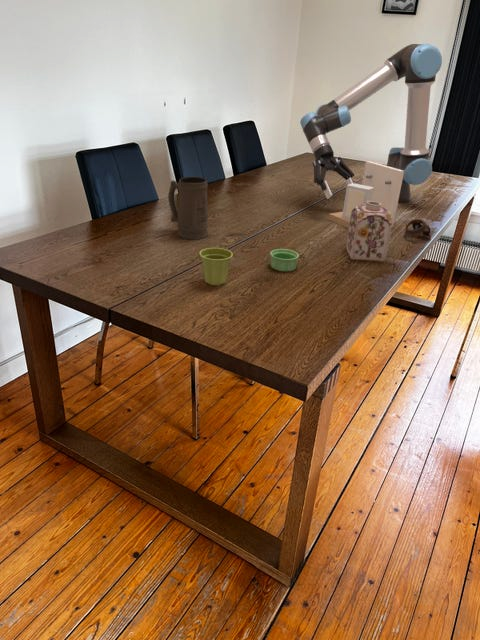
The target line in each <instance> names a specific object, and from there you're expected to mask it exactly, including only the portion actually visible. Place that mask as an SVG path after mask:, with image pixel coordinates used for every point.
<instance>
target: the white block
mask: <svg viewBox="0 0 480 640" xmlns="http://www.w3.org/2000/svg"><path fill="white" fill-rule="evenodd" d="M373 192H374V187H370V186H365V185H362V184H360V183H351V184H349V185H347V184H346V190H345V196H344V202H343V209H342V212H343V214H342V218H343V219H347V220H350V217H351V212H352V210H353V209H354V208H355V207H356V206H358V205H366V203H367V202H368V201H372V197H373Z"/></svg>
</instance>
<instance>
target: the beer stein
mask: <svg viewBox="0 0 480 640" xmlns="http://www.w3.org/2000/svg"><path fill="white" fill-rule="evenodd" d="M208 186H209V184H208V181H207V179H206V178H205V177H198V176H185V177H181V178H180V179H179V180H178V182H177V181H176V180H170V187H169V191H168V194H167V195H168V196H167V197H168V205H169V207H170V210H171V213H172V214H171V215H172V216H171V219H170V220H171V222H172V223H174V222H176V223H177V227H178V230H177V235H178V237H180V238H181V239H185V240H202V239H205V238H206V237H207V236H208V233H209V232H208V222H209V221H208V217H209V215H208ZM176 190H178V196H177V206H176V201H175V191H176Z"/></svg>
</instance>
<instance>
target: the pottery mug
mask: <svg viewBox="0 0 480 640" xmlns="http://www.w3.org/2000/svg"><path fill="white" fill-rule="evenodd" d="M409 226H411V227H412V229H410V228H408V227H409ZM403 235H404V238H407V237H413V238H414V237H417V236H421V237H423V236H424V237H428V239H429V241H431V239H432V233H431V227H430V225H429V224H428V223H427V222H426V221H425V219H422V218H414V219H411V220H409V221H407V223H406V224H405V228H404V232H403Z"/></svg>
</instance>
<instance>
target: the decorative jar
mask: <svg viewBox="0 0 480 640" xmlns="http://www.w3.org/2000/svg"><path fill="white" fill-rule="evenodd" d="M392 228H393V227H392V218H391V212H390V211H389V209H387V208H384V207H382V206H381V203H379V202H375V201H368V202H367V203H366V205H358V206H356V207H355V208H354V209H353V210H352V212H351V217H350V223H349V228H347V229H348V230H347V237H346V244H345V248H346V249H345V250H346V251H347V253H348V255H349V258H350V260H352V261H353V260H354V261H369V262H385V261H386V259H387V254H388V248H389V244H390V243H389V242H390V237H391V231H392Z"/></svg>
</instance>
